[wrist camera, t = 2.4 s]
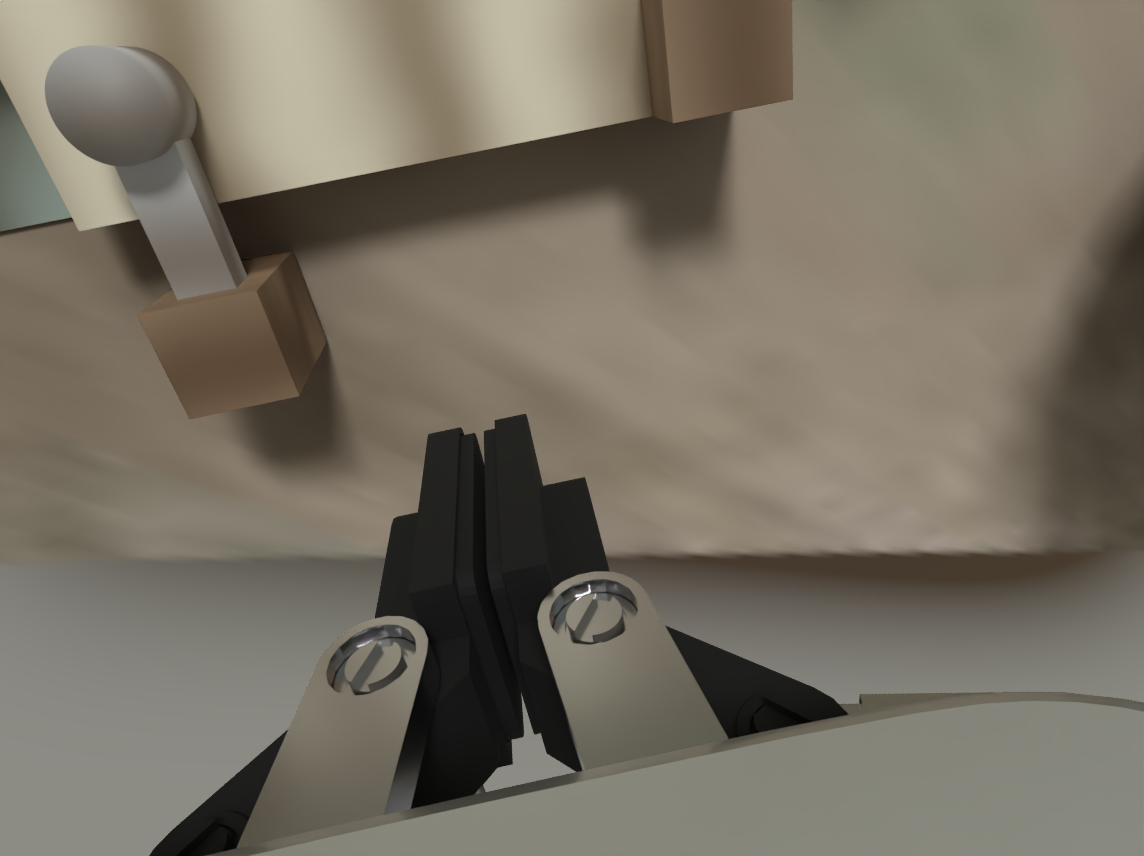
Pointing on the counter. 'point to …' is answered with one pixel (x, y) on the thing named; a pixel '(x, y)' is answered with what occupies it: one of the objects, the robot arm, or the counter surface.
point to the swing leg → (187, 236)
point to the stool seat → (375, 83)
